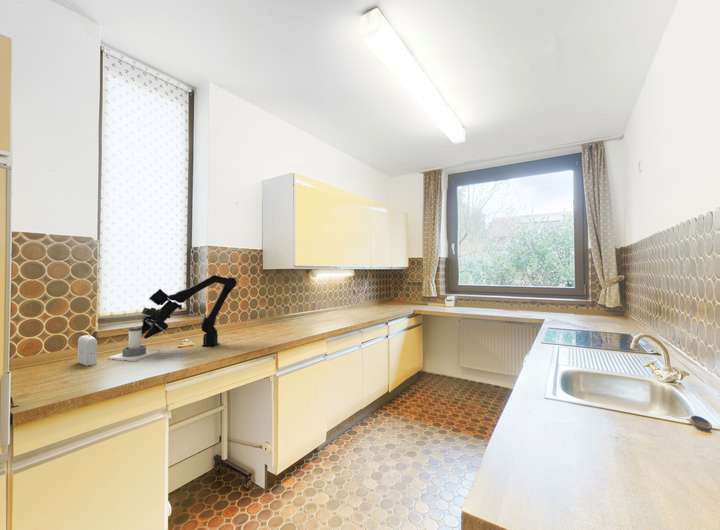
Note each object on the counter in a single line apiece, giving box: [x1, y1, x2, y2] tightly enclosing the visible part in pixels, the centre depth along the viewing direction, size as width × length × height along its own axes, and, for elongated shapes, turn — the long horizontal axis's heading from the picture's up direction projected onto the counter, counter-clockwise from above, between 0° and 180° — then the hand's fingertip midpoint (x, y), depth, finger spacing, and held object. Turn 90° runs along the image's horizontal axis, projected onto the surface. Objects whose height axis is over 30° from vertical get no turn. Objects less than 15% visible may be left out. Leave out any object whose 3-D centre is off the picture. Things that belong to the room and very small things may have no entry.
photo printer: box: [77, 334, 98, 367], centre depth 140 cm, size 10×4×12 cm, turn 60°
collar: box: [107, 344, 160, 362], centre depth 152 cm, size 14×14×4 cm
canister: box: [127, 326, 143, 350], centre depth 152 cm, size 5×5×12 cm
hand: (141, 336), depth 154 cm, fingers open, 9 cm apart
